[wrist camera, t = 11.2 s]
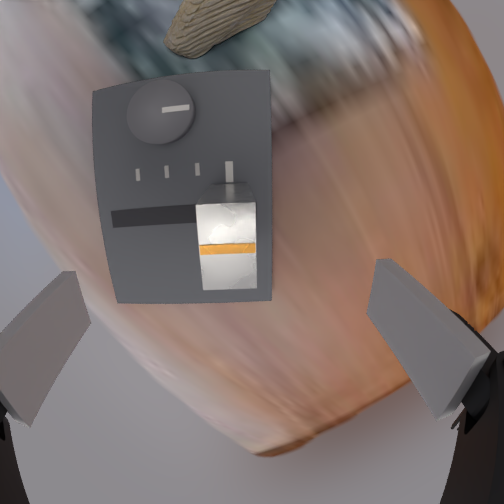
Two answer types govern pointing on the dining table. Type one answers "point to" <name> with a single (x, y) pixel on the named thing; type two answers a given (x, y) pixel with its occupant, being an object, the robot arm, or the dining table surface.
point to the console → (179, 178)
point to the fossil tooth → (212, 23)
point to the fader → (227, 237)
